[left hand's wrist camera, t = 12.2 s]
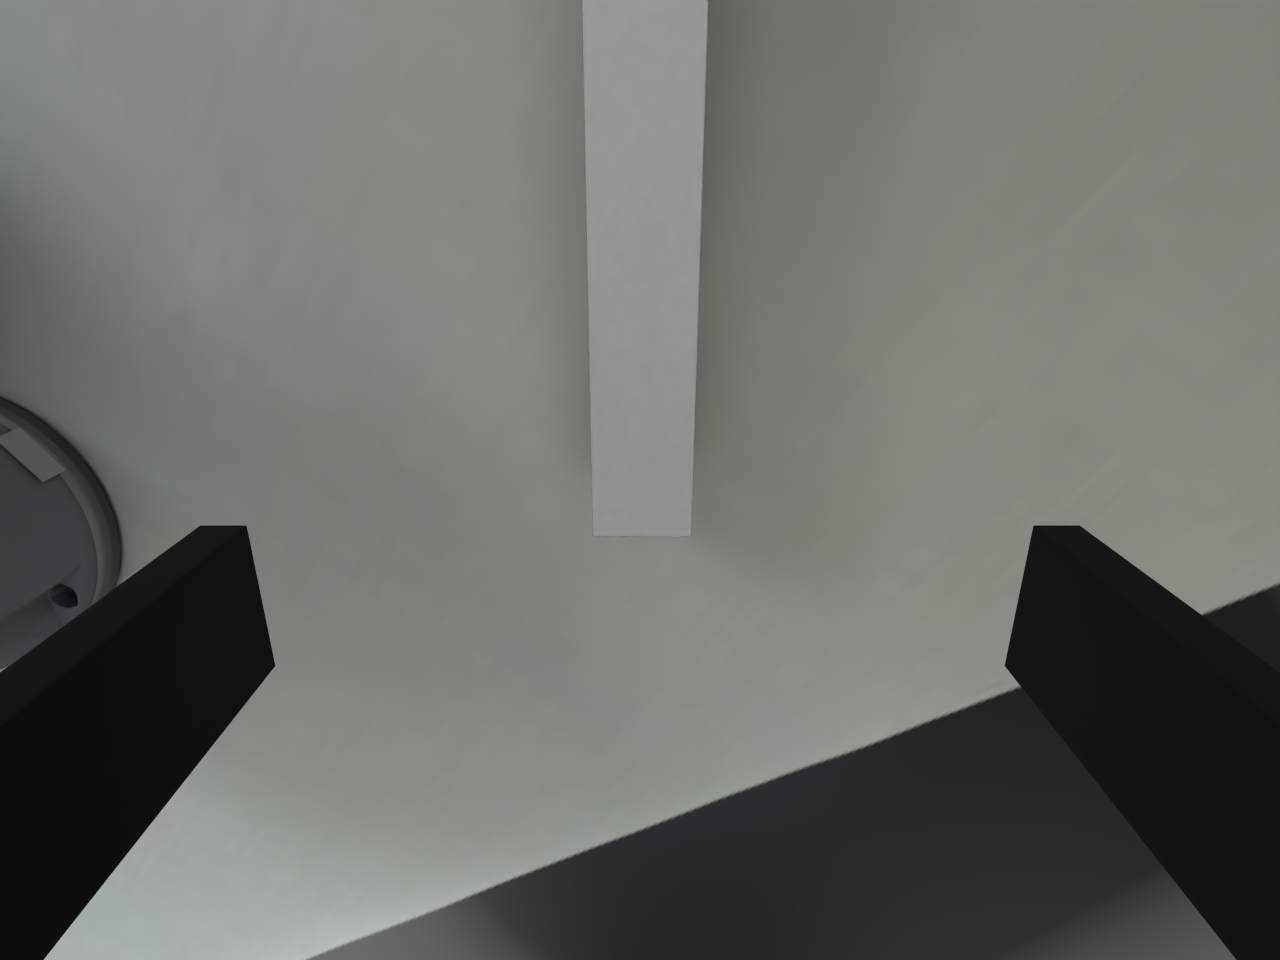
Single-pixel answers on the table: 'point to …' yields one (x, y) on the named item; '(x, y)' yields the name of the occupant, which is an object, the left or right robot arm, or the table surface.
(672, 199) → the bar
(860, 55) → the table surface
